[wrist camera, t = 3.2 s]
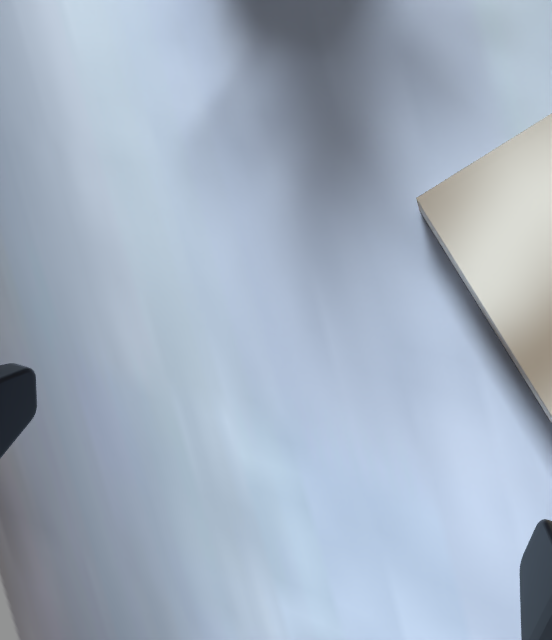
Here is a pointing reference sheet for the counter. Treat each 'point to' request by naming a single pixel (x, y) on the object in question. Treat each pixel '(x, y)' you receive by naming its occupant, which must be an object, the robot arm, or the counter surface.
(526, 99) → the counter surface
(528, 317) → the shelf board
